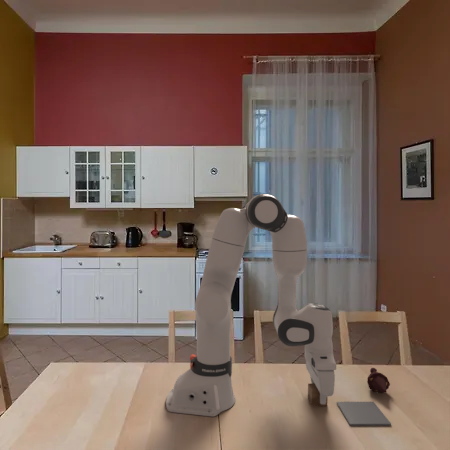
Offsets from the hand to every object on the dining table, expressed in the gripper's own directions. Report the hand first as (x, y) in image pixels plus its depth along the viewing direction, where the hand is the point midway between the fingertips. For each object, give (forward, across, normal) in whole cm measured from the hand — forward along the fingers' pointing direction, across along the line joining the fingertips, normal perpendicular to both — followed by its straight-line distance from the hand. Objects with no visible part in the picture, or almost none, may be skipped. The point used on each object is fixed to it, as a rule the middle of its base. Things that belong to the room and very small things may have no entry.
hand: (318, 395), depth 116 cm
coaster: (+2, +7, +12) cm, 14 cm away
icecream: (+3, -6, +22) cm, 24 cm away
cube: (+2, 0, 0) cm, 2 cm away
